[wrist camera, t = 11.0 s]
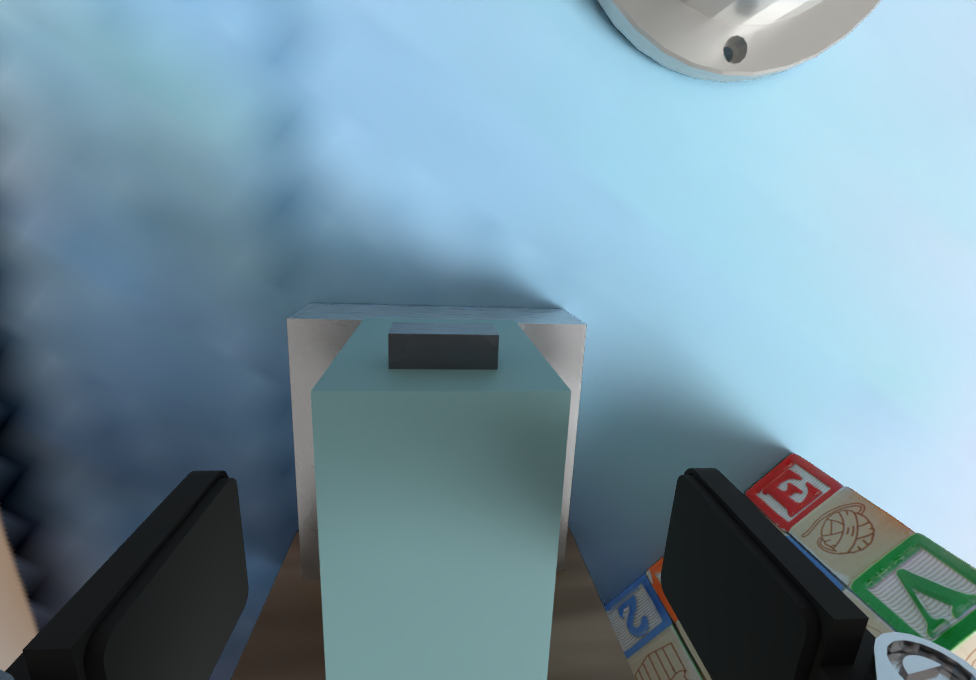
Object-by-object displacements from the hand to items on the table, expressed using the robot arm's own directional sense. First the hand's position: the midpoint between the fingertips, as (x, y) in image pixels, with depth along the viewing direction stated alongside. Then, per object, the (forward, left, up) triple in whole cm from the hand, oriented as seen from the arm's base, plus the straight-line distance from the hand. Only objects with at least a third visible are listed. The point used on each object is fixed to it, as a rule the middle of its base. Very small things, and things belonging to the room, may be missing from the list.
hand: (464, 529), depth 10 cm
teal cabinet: (+2, 0, -7) cm, 7 cm away
